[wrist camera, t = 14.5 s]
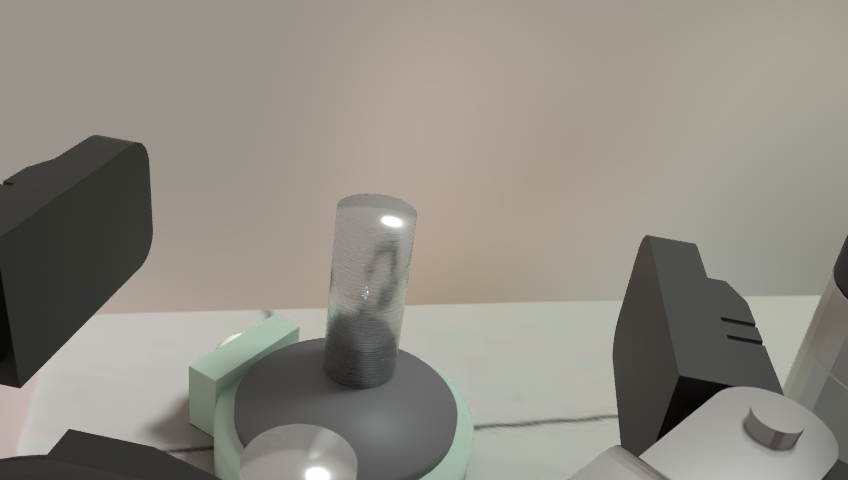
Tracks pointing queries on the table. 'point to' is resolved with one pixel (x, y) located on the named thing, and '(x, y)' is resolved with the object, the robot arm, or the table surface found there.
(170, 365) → the table surface
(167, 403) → the table surface
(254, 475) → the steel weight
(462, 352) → the table surface
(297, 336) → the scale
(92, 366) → the table surface
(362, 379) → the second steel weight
